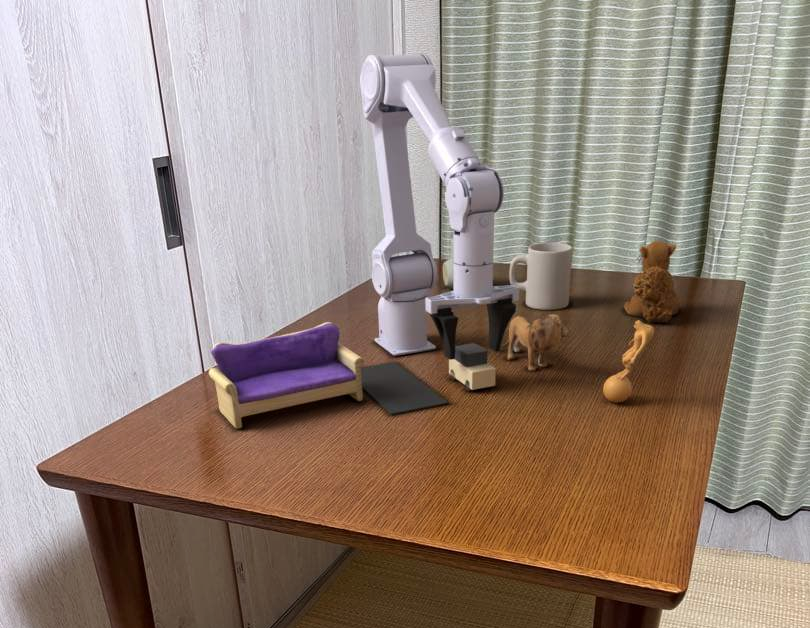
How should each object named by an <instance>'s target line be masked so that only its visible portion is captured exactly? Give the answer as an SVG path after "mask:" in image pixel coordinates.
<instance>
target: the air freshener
mask: <svg viewBox="0 0 810 628" xmlns="http://www.w3.org/2000/svg"><path fill="white" fill-rule="evenodd" d="M453 262H454V261H453V237H452V238H451V240H450V258H449V259H447V260H445V262H444V263H443V264H442V278H443V282H444V285H445V286H447V288H449V289H451V290H453Z"/></svg>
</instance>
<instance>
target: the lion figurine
mask: <svg viewBox="0 0 810 628" xmlns="http://www.w3.org/2000/svg"><path fill="white" fill-rule="evenodd" d="M568 332H569V327H568V326H567V325H564V323H563V322H562V320H561V319H560V315H558V314H555V313H554V314H548V315H545V316H541V317H539V318H538V319H534V320H532V322H531V323H530V322H529V321H528V319H527V318H525V317H524V316H517V315H516V316H515V317H514V318H512V319H511V320H510V322H509V327H508V339H507V340H506V341H505V343H501V346H500V349H505V348H507V356H506V357H507V360H509V361H512V360H514V359H515V355H514V353H513V351H514V352H515V353H520V352H521V349H522V348H520V347H519V345H520V344H521V345H522V346H523V347H525V348H527V356H528V357H527V358H528V366H527V367H528V368H527V369H528V371H529V372H535V371H537V367H536V363H535V358H536V353H538V359H537V362H538V363H537V364H538V366H540V367H542V368H546V367H547V366H548V363H547V362H546V361H545V356H546V354H547V353H549V352H551V351H552V348H555V347H556V346H557V345H558V344H559V343H560V342H561V340H565V337H566V335H568Z"/></svg>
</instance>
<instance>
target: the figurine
mask: <svg viewBox="0 0 810 628" xmlns="http://www.w3.org/2000/svg"><path fill="white" fill-rule="evenodd" d="M633 328H634V329H635V332H634V337H633V338H632V339H631V340H630V341H629V342H628V346H629V347H630V348H629V349H627V350H626V352H625V353H623V354H622V356H621V357H622V365H623V366H624V367H625V369H623V370H622V371H620V372H618V373H616V374H614V375H611V376H609V377H608V378H607V379H606V380H605V382H604V384H603V389H602V392H603V394H604V395H603V396H604V397H605V398H606V399H607V400H608V401H609V402H612V403H618V404H619V403H622V402H625V401H626V400H627V399H628V398H629V397H630V396H631V393H632V390H633V387H632V382H631V380H630V379H629V378H628V377H627V376H628V375H629V374H630V373H631V371H632V366H633V364H634V363H635V362H636V359H637V357H638V356H639V355H640V354H641V352H642V351H643V349H645V347H646V345H647V344H648V343H649V341H650V340H651V339H652V338H653V336H654V335H655V328H654V327H653V325H650V324H647V323H644V322H642V321H641V320H639V319H638V320H636V321H635V322H634V325H633Z"/></svg>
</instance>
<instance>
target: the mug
mask: <svg viewBox="0 0 810 628" xmlns="http://www.w3.org/2000/svg"><path fill="white" fill-rule="evenodd" d="M572 262H573V246H571V245H570V244H567V243H561V242H540V243H534V244H531V245H530V246H528V250H527V253H526V254H518V255H515V256H514V257H513V258H512V259H511V262H510V265H509V272H508V273H509V274H508V275H509V283H510V285H514V286H516V287H518V288H519V292H525V305H526V306H527V307H528V308H531V309H534V310H539V311H541V310H542V311H554V310H555V311H556V310H561V309H565V308H567V307H568V306H569V303H570V290H571V289H570V287H571V273H572ZM518 264H524V265H526V267H527V268H526V270H527V271H526V280H525V281H523V282H519V281H517V279H516V278H515V277H516V276H515V269H516V266H517V265H518Z"/></svg>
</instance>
